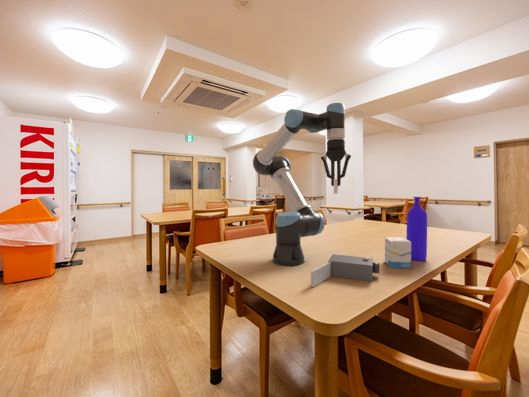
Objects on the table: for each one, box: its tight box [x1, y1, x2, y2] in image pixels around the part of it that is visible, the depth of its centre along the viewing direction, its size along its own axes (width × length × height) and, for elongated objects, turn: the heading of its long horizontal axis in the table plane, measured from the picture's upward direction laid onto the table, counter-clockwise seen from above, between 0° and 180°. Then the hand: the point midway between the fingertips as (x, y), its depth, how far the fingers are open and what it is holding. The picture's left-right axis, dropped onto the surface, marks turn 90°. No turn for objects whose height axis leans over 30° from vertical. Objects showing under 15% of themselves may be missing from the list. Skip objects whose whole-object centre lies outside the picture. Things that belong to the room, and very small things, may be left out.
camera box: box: [327, 253, 380, 282], centre depth 95 cm, size 18×10×7 cm, turn 65°
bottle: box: [406, 196, 428, 262], centre depth 113 cm, size 8×8×30 cm
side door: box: [310, 261, 332, 288], centre depth 89 cm, size 14×2×6 cm, turn 138°
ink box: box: [384, 236, 412, 269], centre depth 106 cm, size 9×8×12 cm
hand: (335, 193), depth 105 cm, fingers closed
